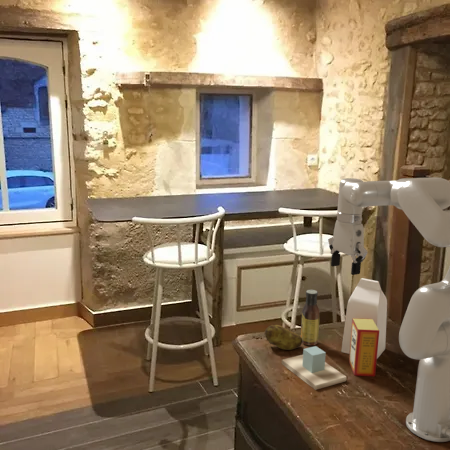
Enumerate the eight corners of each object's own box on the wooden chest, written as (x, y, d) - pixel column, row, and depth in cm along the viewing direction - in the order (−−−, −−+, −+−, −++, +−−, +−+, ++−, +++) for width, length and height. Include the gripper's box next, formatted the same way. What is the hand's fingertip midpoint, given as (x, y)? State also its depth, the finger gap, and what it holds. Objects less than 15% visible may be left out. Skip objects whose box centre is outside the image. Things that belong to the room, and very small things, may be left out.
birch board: (346, 381, 161) (346, 376, 160) (315, 389, 155) (315, 385, 155) (310, 356, 176) (311, 352, 176) (281, 363, 171) (281, 359, 170)
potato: (298, 355, 177) (299, 334, 175) (262, 349, 181) (263, 328, 179) (302, 345, 184) (304, 324, 183) (268, 339, 189) (268, 319, 187)
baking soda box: (348, 361, 174) (352, 316, 170) (368, 362, 173) (372, 317, 170) (354, 375, 164) (358, 328, 161) (375, 376, 164) (379, 329, 161)
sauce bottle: (305, 337, 191) (308, 286, 187) (320, 342, 188) (324, 290, 183) (297, 343, 186) (300, 291, 182) (312, 348, 182) (316, 295, 178)
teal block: (324, 369, 164) (325, 352, 163) (311, 373, 162) (312, 355, 161) (314, 363, 169) (316, 346, 167) (302, 366, 166) (303, 349, 165)
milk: (341, 351, 181) (346, 281, 175) (352, 340, 190) (358, 272, 184) (375, 361, 174) (381, 288, 168) (385, 348, 184) (392, 279, 178)
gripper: (377, 222, 157) (373, 276, 160) (340, 212, 171) (336, 261, 175) (359, 224, 153) (354, 279, 157) (322, 213, 168) (319, 264, 172)
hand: (345, 269), depth 166 cm, fingers open, 9 cm apart
